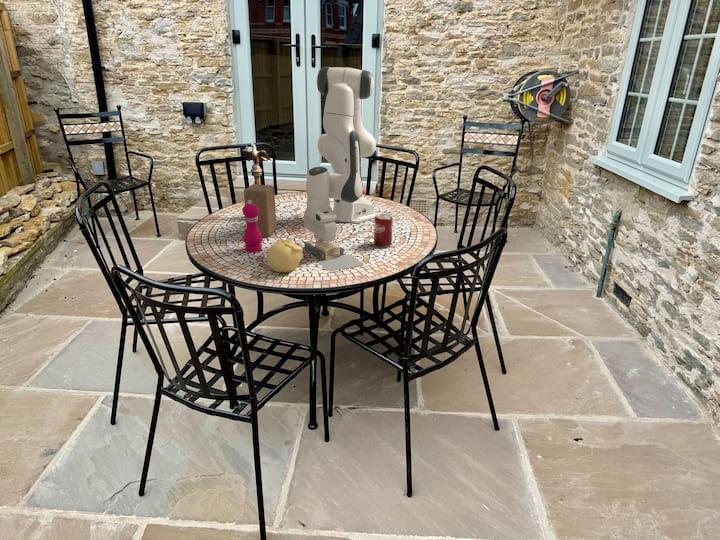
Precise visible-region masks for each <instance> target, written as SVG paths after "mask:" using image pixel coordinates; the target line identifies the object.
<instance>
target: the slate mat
mask: <svg viewBox="0 0 720 540" xmlns="http://www.w3.org/2000/svg"><path fill="white" fill-rule="evenodd" d="M316 263H317V264H318V265H320V266H321V267H322V268H324V269H326V270H327V271H328V272H329V274H333V273H337V272H341V270H342V271H345V269H346V270H349V268H350V269H354V268H358V267H361V266H363V265H364V263H363V262H361V261H360V260H358V259H357V258H355V257H354V256H353V255H351V254H347V255H345V254H344V255H343V256H340V257H337V258H333V259H328V260H320V261H316ZM353 267H354V268H353Z"/></svg>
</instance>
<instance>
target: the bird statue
mask: <svg viewBox="0 0 720 540" xmlns="http://www.w3.org/2000/svg"><path fill="white" fill-rule="evenodd" d="M250 146H251V150H248V149H249V147H248V145H246V147H244V149H242V150H241V152H242V154H243V155H244V156H245V157H246V158H247V161H248V162H250V161H251V160H252V163H253V164H252V165H251V169H250V172H251V176H252V177H253V179H254V184H257V185H261V180H260V179H261V176H262V171H263V169H262V168H261V167H260V165H259V164H260V162H267V163H268V162H269V161H270V162H272V163H273V164H274V163H275V162H274V161H273V160H274V159H273V158H271V157H269V155H268V154H267V152H266V150H264V149H263V150H260V151H258V150H257V148H256V144H255V143H253V142H250Z"/></svg>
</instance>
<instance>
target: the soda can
mask: <svg viewBox="0 0 720 540" xmlns="http://www.w3.org/2000/svg"><path fill="white" fill-rule="evenodd" d="M393 220H394V217H393V216H392V215H391V214H387V213H378V215H376V216H375V218H374V227H373V244H374V246H376V247H378V248H388V247H391V246H392V244H393V242H392V241H393V227H394V225H393V224H394V221H393Z"/></svg>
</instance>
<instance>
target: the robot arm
mask: <svg viewBox="0 0 720 540" xmlns="http://www.w3.org/2000/svg"><path fill="white" fill-rule="evenodd" d="M315 83H316V87H317V91H318V92H319V93H320V95H321V96H322V95H323V97H324V99H325V102H324V103H325V104H324V109H323V119H322V126H323V129H324V132H325V133H323V134H321V135H320V136H319V138H318V141H317V150H318V153H319V154H320V155H321V156H322V157H323V158H325V159H326V160H327V162H328V163H329V164H330V166H331V168H332V170H333V171H329V170H328V168H326V167H325V166H317V167H312V168H310V169H308V170H307V174H306V179H305V180H306V184H305V185H306V187H305V190H306V196H307V201H306V208H305V211H304V214H303V215H304V216H303V226H304V228H305V229H306V230H308V231H309V232H311V233H312V234H313V237H314V240H315V242H319V241H326V242H331V241H332V242H334V241H335V240H336V237H337V224H336V222H339V223H351V224H360V223H362V222H366V221H369V220H372V219H375V216H376V215H378V214H379V213H378V212H377V211H375V209H374V205H373V203H372V202H371V201H370V200H369V199H367V198H366V197H365V196H364V195H363V194H366V193H367V190H366V189H364V185H363V177H362V162H361V161H362V160H361V159H362V158H368V157H372V156H373V155H374V154H375V151H376V149H377V142H376V138H375V137H374V135H373V134H371V133H370V132H368V130H366V128H365V127H364V124H363V122H362V100H366V99H369V98H370V97H371V95H372V93H373V92H374V88H375V81H374V76H373V74H372V72H370V71H368V70H365V69H358V68H353V67H347V66H346V67H338V66H336V67H331V66H323V67H321V68H320V69H319V71H318V73H317V75H316V82H315ZM330 199H332V200H334V201H333V209H332V207H331V201H330Z"/></svg>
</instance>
